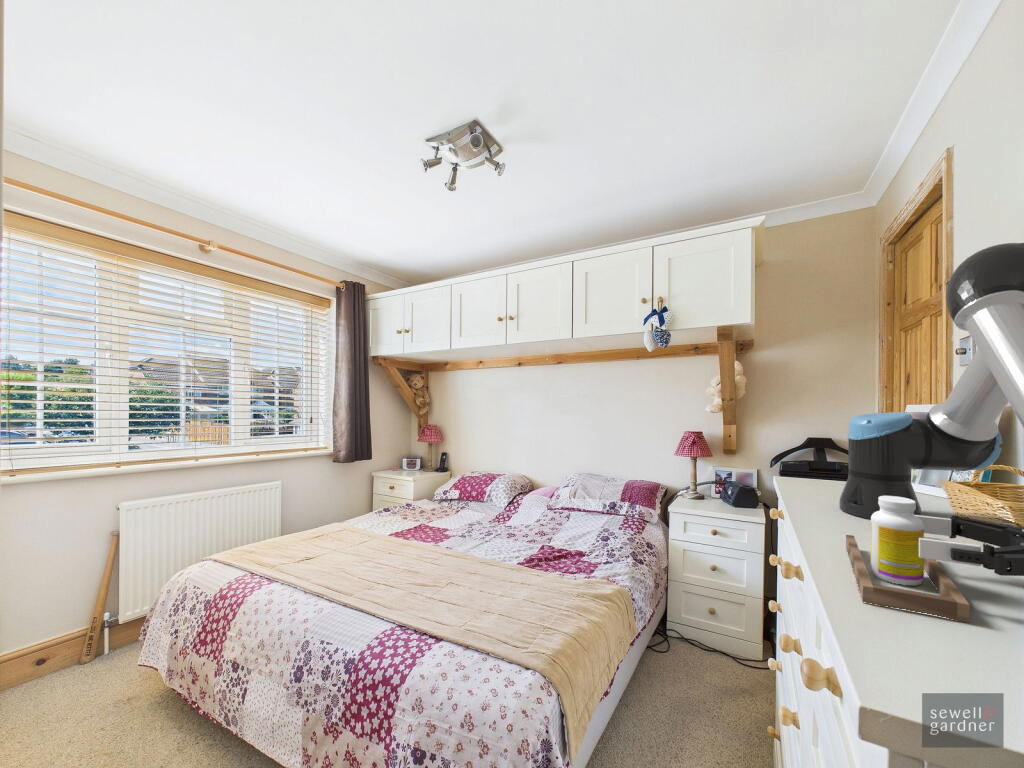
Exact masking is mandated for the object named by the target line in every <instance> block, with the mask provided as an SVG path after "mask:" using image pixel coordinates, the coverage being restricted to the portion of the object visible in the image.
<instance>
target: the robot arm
mask: <svg viewBox="0 0 1024 768" xmlns="http://www.w3.org/2000/svg"><path fill="white" fill-rule="evenodd" d="M945 300H946V302H945V303H946V308H947V311H948V313H949V316H950V317H951V320H952V321H953V323H954V325H955V326H956V327H957V328H958V329H959V330H962V331H964V332H965V331H966V332H968V334H969V335H970V337H971V339H972V340H973V342H974V344H975V345H976V347H977V349H976V351H975V352H974V355H973V356H972V358H971V360H970V361H969V363H968V364H967V366H966V367H965V369H964V371H963V372H962V374H961V375H960V377H959V379H958V380H957V382H956V384H955V385H954V387H953V388H952V389H951V392H950V393H949V395H948V397H947V398H946V400H945V402H940V403H939V402H938V403H937V404H935V405H933V406H932V407H931V408H930V409H929V411H928V413H927V415H926V416H925V417H923V418H913V416H912V414H910V413H908V412H903V411H901V412H899V411H898V412H897V411H892V412H891V411H889V412H874V413H873V412H872V413H865V414H860V415H857V416H854V417H853V418H852V417H851V419H850V421H849V423H848V433H847V438H848V439H847V440H848V441H847V442H848V444H847V445H848V449H847V450H848V475H847V476H848V477H847V480H846V482H845V485H844V487H843V489H842V492H841V495H840V496H839V497H840V498H839V509H840V511H843V512H844V513H847V514H850V515H853V516H856V517H859V518H863V519H869V520H871V516H872V514H873V513H875V512H877V511H880V506H879V504H878V499H879V497H880V496H897V497H903V498H908V499H911V500H914V501H915V502H916V509H915V511H914V516H916V517H918V518H919V519H920V520H921V521H922V522H923V524H924V534H928V535H937V536H944V537H949V539H956V538H957V537H960V538H965V539H970V540H973V541H977V542H981V543H982V546H980V545H979V544H971V543H966V542H965V543H963V542H955V541H950V542H949V540H946V541H941V540H942V539H941V540H933V539H925V538H919V557H920V558H926V559H933V560H936V561H941V562H949V563H953V564H954V563H955V564H962V565H969V566H976V567H977V566H978V567H982V568H984V569H986V570H991V571H992V570H994V571H993V572H994V574H995V575H999V576H1001V577H1002V576H1005V577H1006V576H1007V577H1012V576H1013V577H1015V576H1016V577H1024V527H1019V526H1013V525H1007V524H1003V523H1002V524H1001V523H996V522H991V521H986V520H985V521H984V520H980V519H975V518H969V517H965V516H959V515H950V517H949V518H947V517H936V516H930V515H929V516H927V515H922V507H921V505H920V503H919V500H918V497H917V495H916V492H915V490H914V487H913V485H912V470H928V471H953V472H954V471H956V472H969V471H979V470H980V471H981V470H982V469H987V468H988V467H990V466H991V465H992V464H994V463H995V462H996V461H997V460H998V458H999V457H1000V455H1001V452H1002V448H1001V447H1000V445H1002V444H1003V438H1002V437H1003V436H1002V435H1001V432H1000V431H999V426H998V424H997V422H996V420H997V419H998V417H999V416H1000V415H1001V414H1002V412H1003V411H1004V409H1005V408H1006V406H1007V405H1008V404H1010V406H1011V408H1012V411H1013V412H1014V413H1015V415H1016V417H1017V418H1018V420H1019V422H1020V424H1021V426H1022V427H1023V428H1024V242H1008V243H1007V242H1005V243H1001V244H996V245H992V246H989V247H986V248H983V249H981V250H978V251H977V252H975V253H974V254H971V255H970V256H968V257H967V258H966V259H965V260H963V261H962V262H961V263H960V264H959V265H958V266H957V268H956V269H955V270H954V271H953V273H952V274H951V276H950V278H949V281H948V283H947V285H946V291H945ZM995 546H996V547H995Z"/></svg>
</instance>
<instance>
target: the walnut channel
mask: <svg viewBox="0 0 1024 768" xmlns="http://www.w3.org/2000/svg"><path fill="white" fill-rule="evenodd" d="M857 543H858V542H857V540H856V538H855V535H851V534H845V549H846V552H848V553H847V555H848V558H849V559H848V560H849V563H850V562H851V563H850V565H852V566H851V569H852V568H853V569H852V573H853V576H854V575H855V576H854V579H855V578H856V579H855V582H856V581H857V582H856V584H858V586H857V588H858V587H859V589H858V592H859V591H860V592H859V594H861V595H860V598H862V599H861V602H862V601H863V602H866V603H872V604H877V605H880V606H879V607H882V606H888V607H893V608H899V609H906V610H910V611H915V612H921V613H927V614H932V615H937V616H941V617H946V618H949V619H953V620H952V621H955V620H957V621H956V622H960V621H961V623H965V622H966V624H970V611H971V610H970V607H971V606H970V603H969V602H968V600H966V598H965V597H964V596H963V594H962V593H961V591H960V590H959V589H958V587H957V586H956V585H955V583H954V582H953V581H952V579H951V578H950V576H949V575H948V574H947V572H946V571H944V569H943V568H942V567H941V565H940V564H939V562H938V560H933V559H926V558H924V570H925V571H924V573H925V572H926V573H927V574H926V573H925V574H926V576H927V575H928V576H929V577H928V576H927V577H928V579H929V578H930V579H931V580H930V579H929V580H930V582H931V581H932V582H933V583H932V582H931V583H932V585H933V584H934V585H935V586H934V585H933V586H934V588H935V587H936V588H937V589H936V588H935V589H936V591H937V590H938V591H937V592H939V593H940V594H939V593H938V594H939V595H938V594H932V593H926V592H921V591H915V590H910V589H904V588H900V587H899V588H898V587H894V586H893V587H892V586H887V585H882V584H875V583H872V581H871V579H870V575H869V572H868V570H867V567H866V565H865V562H864V560H863V556H862V554H861V551H860V549H859V546H858V544H857ZM940 595H941V596H940ZM863 602H862V603H863ZM866 603H865V604H866ZM949 619H948V620H949Z"/></svg>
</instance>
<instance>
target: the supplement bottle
mask: <svg viewBox="0 0 1024 768" xmlns="http://www.w3.org/2000/svg"><path fill="white" fill-rule="evenodd" d="M878 504H879V506H880V511H877V512H875V513H873V514H872V516H871V519H870V571H871V574H872V575H874V576H875V577H876V578H878V579H879V578H880V580H881V581H884V580H885V582H887V581H889V582H888V583H890V582H893V583H892V584H894V583H897V584H896V585H898V584H904V585H903V586H906V585H916V586H920V585H922V584H923V583H924V580H925V579H924V578H925V577H924V576H925V575H924V573H925V571H924V558H920V557H919V538H924V537H925V533H924V524H923V522H922V521H921V520H920V519H919V518H918V517H916V516H914V511H915V509H916V502H915V501H914V500H911V499H908V498H903V497H897V496H880V497H879V499H878Z"/></svg>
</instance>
